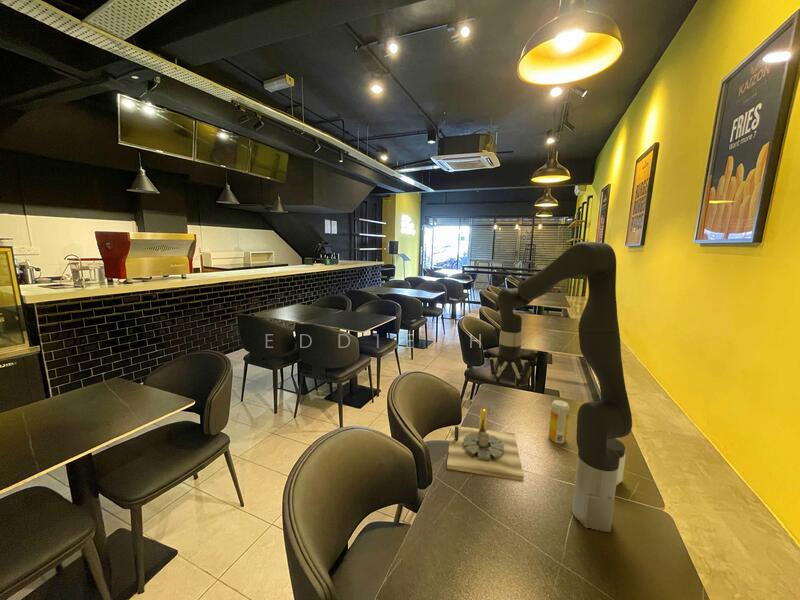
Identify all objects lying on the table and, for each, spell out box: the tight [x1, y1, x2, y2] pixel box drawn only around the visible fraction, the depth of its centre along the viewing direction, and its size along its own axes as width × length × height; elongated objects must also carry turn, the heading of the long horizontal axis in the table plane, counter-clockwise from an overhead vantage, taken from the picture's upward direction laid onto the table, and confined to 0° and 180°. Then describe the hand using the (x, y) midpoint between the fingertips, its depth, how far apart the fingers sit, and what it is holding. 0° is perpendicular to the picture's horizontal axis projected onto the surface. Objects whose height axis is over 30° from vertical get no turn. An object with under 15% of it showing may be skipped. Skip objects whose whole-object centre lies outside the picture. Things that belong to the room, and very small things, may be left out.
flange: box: [463, 407, 504, 460], centre depth 115 cm, size 18×14×9 cm
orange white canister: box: [548, 399, 571, 445], centre depth 120 cm, size 6×6×15 cm
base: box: [446, 425, 525, 482], centre depth 113 cm, size 24×24×6 cm
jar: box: [607, 438, 627, 486], centre depth 101 cm, size 9×8×12 cm
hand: (507, 385), depth 118 cm, fingers open, 5 cm apart
